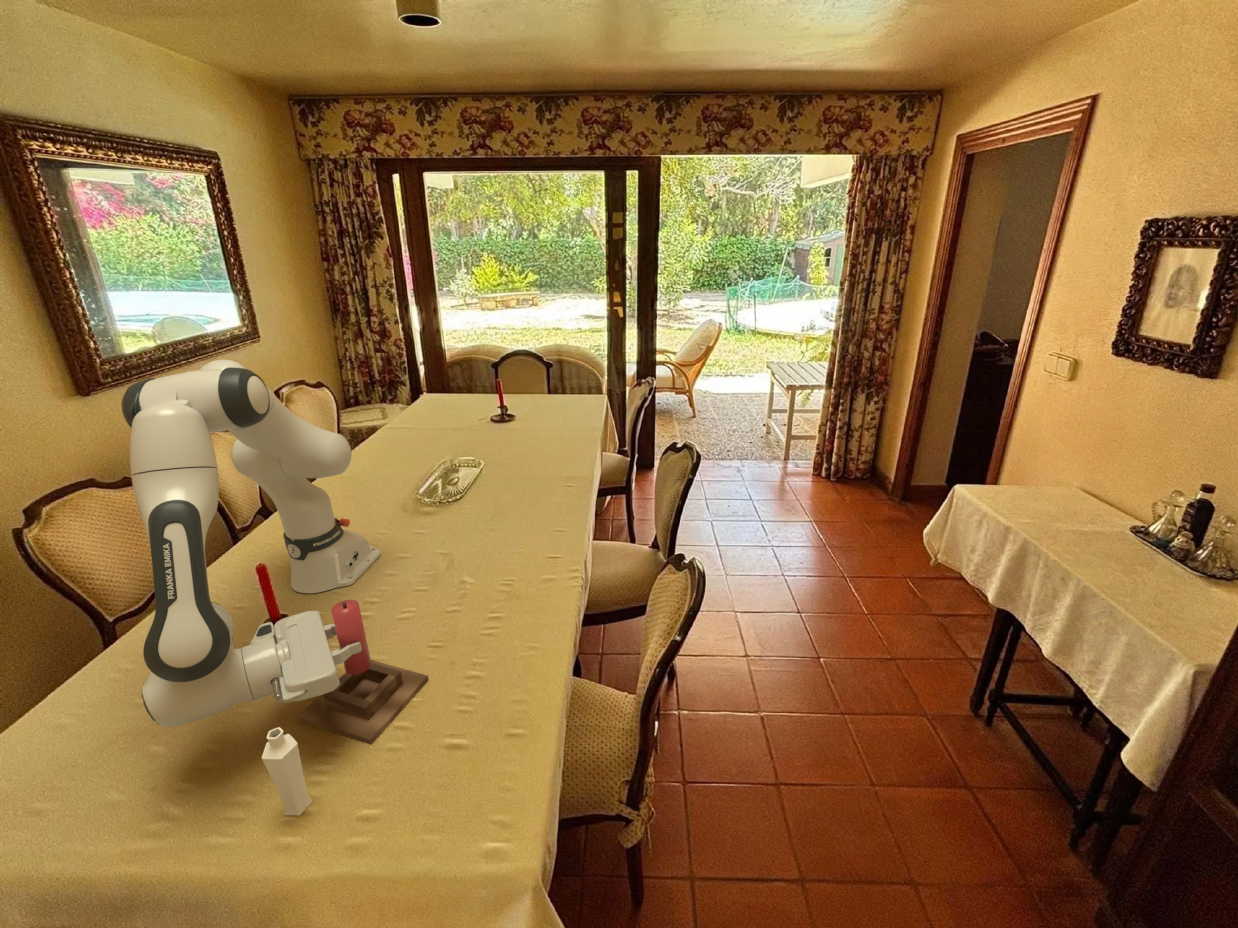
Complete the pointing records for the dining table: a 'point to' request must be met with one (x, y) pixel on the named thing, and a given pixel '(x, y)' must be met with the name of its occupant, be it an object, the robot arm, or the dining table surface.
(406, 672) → the walnut stand
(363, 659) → the burgundy candle
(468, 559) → the dining table surface
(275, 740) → the perfume bottle
